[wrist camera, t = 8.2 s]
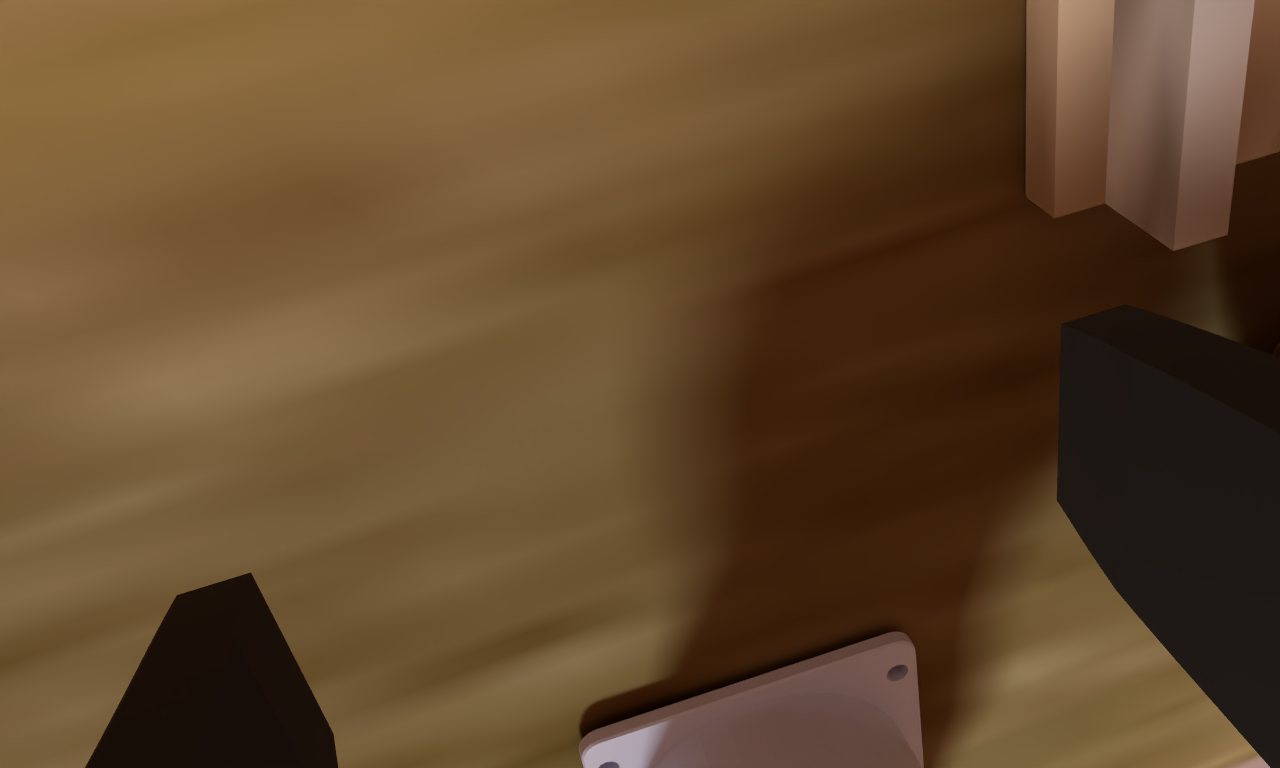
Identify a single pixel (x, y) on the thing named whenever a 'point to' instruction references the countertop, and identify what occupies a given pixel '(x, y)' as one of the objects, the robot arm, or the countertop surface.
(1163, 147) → the press board
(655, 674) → the countertop surface
